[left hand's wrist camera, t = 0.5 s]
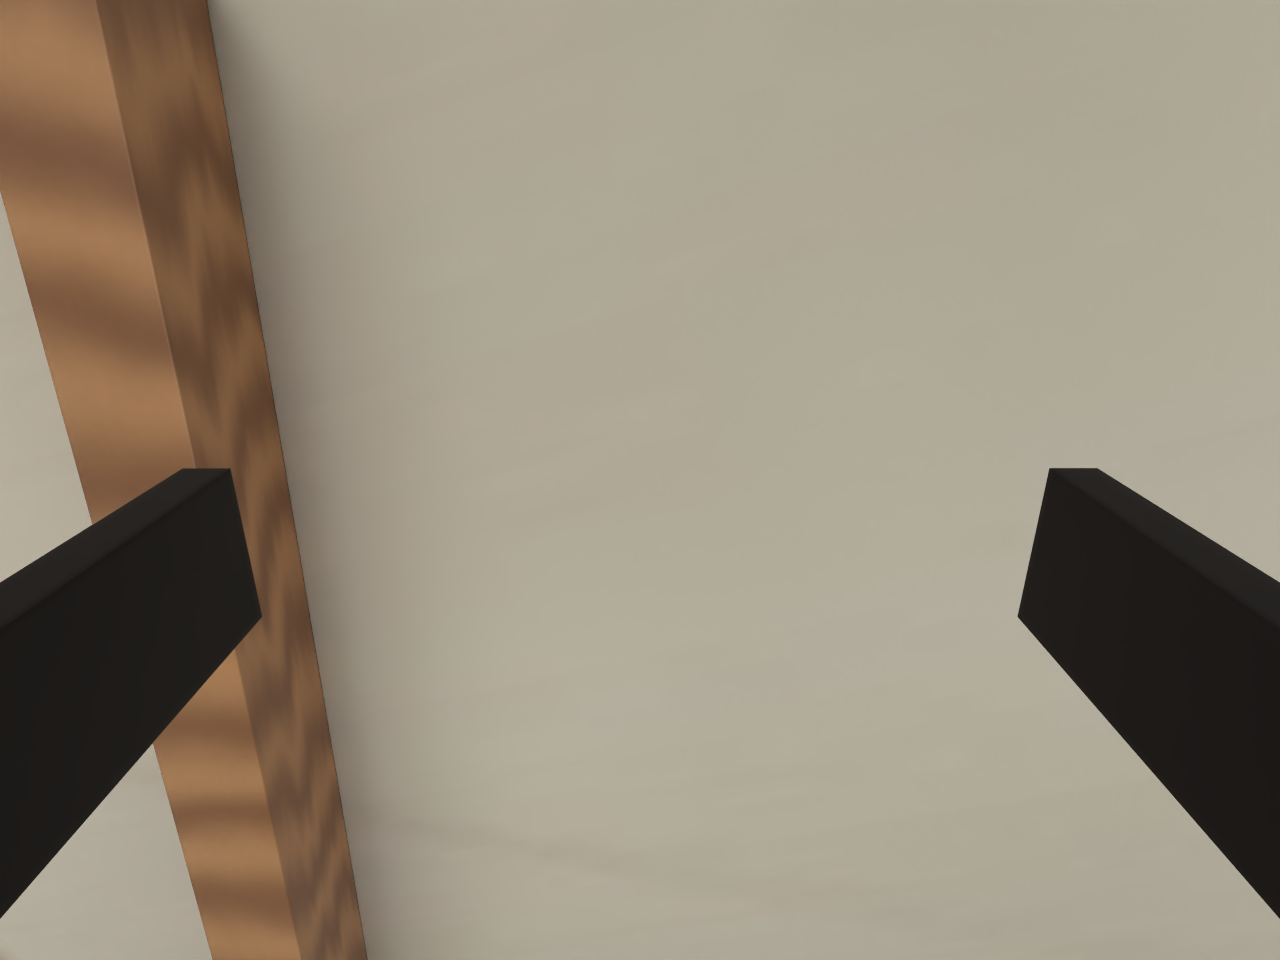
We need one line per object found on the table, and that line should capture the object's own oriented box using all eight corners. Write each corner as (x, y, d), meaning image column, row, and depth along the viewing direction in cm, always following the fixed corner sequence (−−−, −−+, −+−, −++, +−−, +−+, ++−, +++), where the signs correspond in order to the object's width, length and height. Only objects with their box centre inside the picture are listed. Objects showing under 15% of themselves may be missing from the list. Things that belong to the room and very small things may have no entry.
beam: (82, -27, 31) (-78, -87, 24) (202, -24, 31) (78, -83, 24) (307, 1011, 55) (260, 1131, 48) (376, 1012, 55) (338, 1132, 48)
